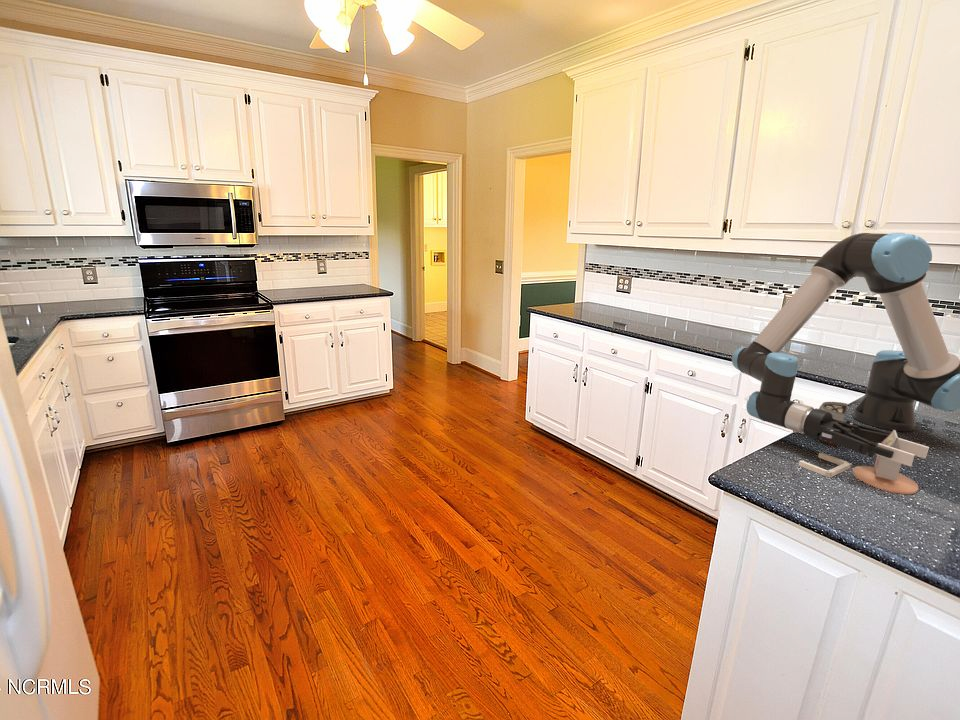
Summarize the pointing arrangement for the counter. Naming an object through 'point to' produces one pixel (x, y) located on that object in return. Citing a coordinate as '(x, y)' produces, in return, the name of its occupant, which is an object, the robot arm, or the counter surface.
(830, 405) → the food container
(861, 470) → the saucer
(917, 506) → the counter surface
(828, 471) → the holder
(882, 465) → the tea bag
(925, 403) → the robot arm
